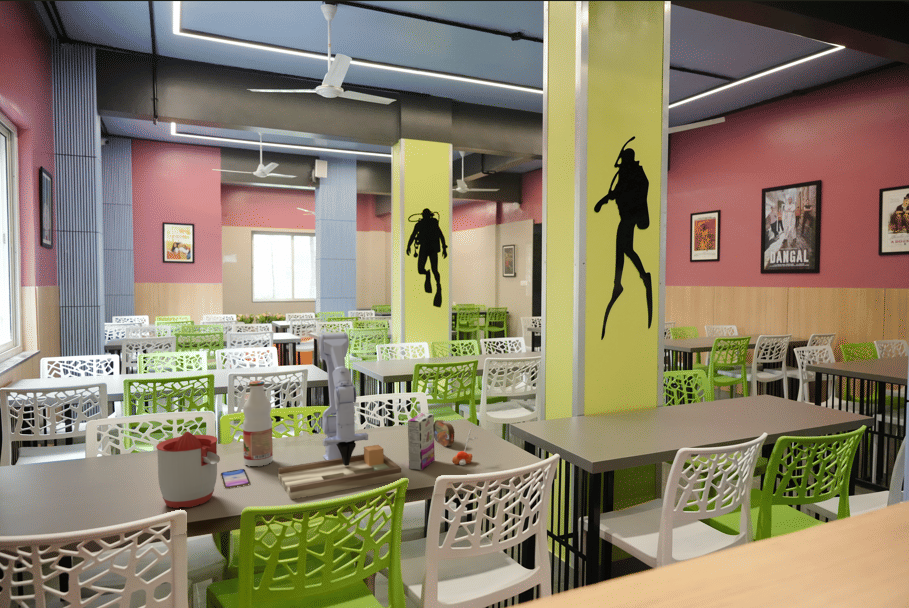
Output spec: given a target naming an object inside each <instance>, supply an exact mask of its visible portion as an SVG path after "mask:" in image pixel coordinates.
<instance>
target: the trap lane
mask: <svg viewBox="0 0 909 608" xmlns="http://www.w3.org/2000/svg"><path fill="white" fill-rule="evenodd" d="M277 473H278V476H277V477H278V481H279V482H280V484H281V486H282V487H283V489H284V491H285V492H286V494H287V495H288V497H289V500H291V499H292V500H296V499H295V498H297V499H301V498H300V497H302V498H307V497H306V496H308V497H312V496H318V495H322V494H329V493H333V492H339V491H343V490H349V489H354V488H360V487H361V488H362V487H365V486H371V485H376V484H380V483H388V482H391V481H397V480H401V479H400V478H403V477H402V476H403V475H402V467H401V466H400V465H399V464H397V463H396V462H394V461H393V460H392V459H391V458H389V457H388V456H386V455H385V454H384V464H378V465H372V466H368V465H367V464H366V463H365V462H364V453H363V454H357V455H351V458H350V463H349V465H347V466H345V465H344V464H343V460H342V458H337V459H331V460H326V459H324V460H320V461H313V462H307V463H301V464H294V465H289V466H288V465H287V466H281V467H278V468H277Z"/></svg>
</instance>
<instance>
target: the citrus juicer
mask: <svg viewBox="0 0 909 608" xmlns="http://www.w3.org/2000/svg"><path fill="white" fill-rule="evenodd" d="M217 442H218V437H216V436H214V435H210V434H193V433H192V432H190V431H185V432H184V433H183V434H182V435H181V436H177V437H171V438H169V439H165V440H163V441H161V442H159V443H158V444H156V447H155V448H156V450H157V451H156V452H157V475H158V476H157V477H158V485H159V490H160V493H161V495H162V499H163V501H164V503H165V504H166V506H167V507H169V508H172V507H173V509H180V508H179V507H192V506H194V507H197V506H199V504H200V505H202V504H205V503H207V502H208V501H210V500H211V499H212V496H213V494H214V491H215V487H216V483H217V477H218V463H219V462H220V461H221V458H220V455H218V450H217V449H218V448H217ZM192 508H193V507H192Z"/></svg>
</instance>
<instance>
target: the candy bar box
mask: <svg viewBox="0 0 909 608" xmlns="http://www.w3.org/2000/svg"><path fill="white" fill-rule="evenodd" d="M434 423H435V419H434V413H428V412H421V413H419V414H417V415H415V416H414V417H412V418H410V419H408V420H407V433H408V434H407V435H408V437H407V438H408V440H407V441H408V468H409V470H414V471H423V470H425V468H426V467H428V466H429V465H430V464H432V463H433V462H434V461H435V457H436V456H435V438H434Z"/></svg>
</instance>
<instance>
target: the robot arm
mask: <svg viewBox="0 0 909 608" xmlns="http://www.w3.org/2000/svg"><path fill="white" fill-rule="evenodd" d="M349 345H350V340H349V335H348V333H346V332H344V333H326V334H325V333H324V334H323V333H320V335H319V336H318V348H319V350H318V351H319V356H320V360H321V359H322V360H323V361H324V362H325V364H326V370H327V385H328V398H329V407H327V408H326V409H325V410H323V412H322V421H321V423H322V424H321V425H322V427H321V428H322V432H323V434H324V435H326V436H325V438H322V446H323V447H325V454H323V455H322V457H323V458H324V460H331V459H337V458H342V460H343V464H344V465H345V466H347V465H349V463H350V458H351V456H353V453H354V450H355V448H356V446H357V444H356V442H358V441H359V442H360V441H368V440H369V434H368V433H367V432H361V433H359V432H358V433H355V432H356V429H355V426H356V425H355V403H356V402H357V390H356V385H355V384H354V382H353V381H352V376H351V372H350V369H349V368H347V367H346V360H345V358H346V356H347V354H348V351H349V350H348V349H349V347H350V346H349Z"/></svg>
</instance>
